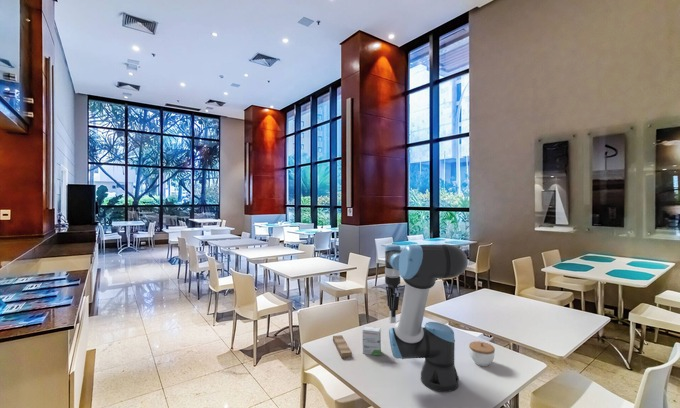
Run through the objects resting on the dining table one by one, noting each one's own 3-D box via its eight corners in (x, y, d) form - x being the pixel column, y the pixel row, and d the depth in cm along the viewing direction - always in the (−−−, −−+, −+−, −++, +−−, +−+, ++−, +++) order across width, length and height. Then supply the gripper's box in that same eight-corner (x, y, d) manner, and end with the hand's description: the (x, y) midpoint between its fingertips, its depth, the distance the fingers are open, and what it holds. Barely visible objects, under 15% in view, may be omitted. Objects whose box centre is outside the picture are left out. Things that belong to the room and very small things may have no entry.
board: (351, 357, 153) (351, 352, 153) (341, 358, 152) (341, 353, 152) (341, 339, 173) (341, 335, 173) (332, 340, 172) (332, 336, 172)
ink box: (381, 351, 159) (381, 327, 159) (379, 356, 155) (379, 331, 155) (364, 349, 162) (364, 325, 162) (362, 353, 157) (362, 329, 157)
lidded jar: (497, 370, 141) (497, 349, 141) (471, 367, 144) (471, 346, 144) (491, 358, 152) (491, 339, 152) (467, 356, 154) (467, 336, 154)
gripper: (405, 278, 155) (405, 326, 155) (394, 272, 168) (394, 317, 168) (390, 279, 153) (390, 328, 154) (381, 273, 166) (380, 318, 166)
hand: (392, 322), depth 161 cm, fingers closed
